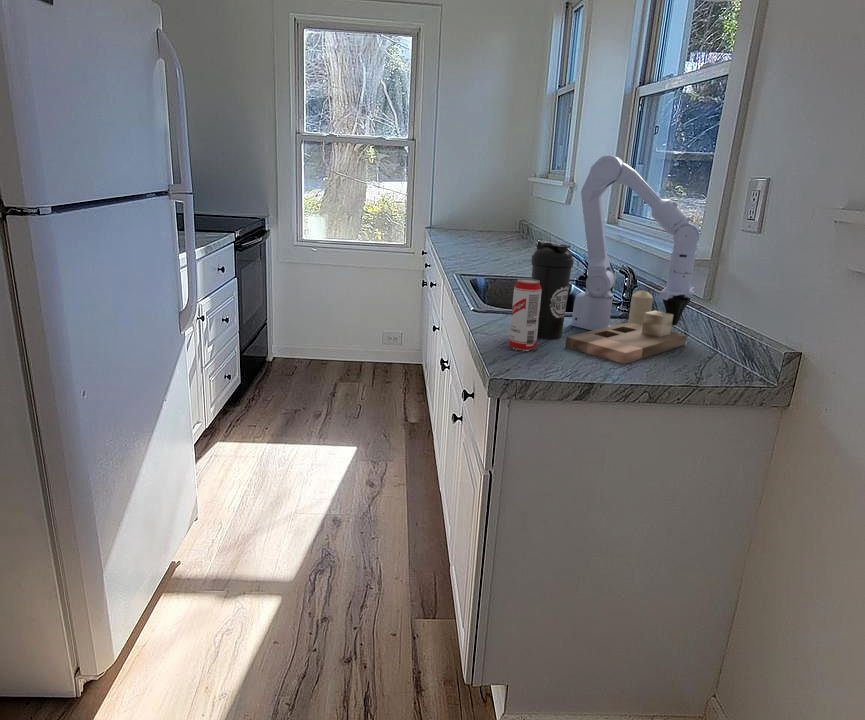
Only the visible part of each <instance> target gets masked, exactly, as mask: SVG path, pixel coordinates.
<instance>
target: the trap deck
mask: <svg viewBox="0 0 865 720" xmlns="http://www.w3.org/2000/svg"><path fill="white" fill-rule="evenodd" d="M642 327H643V325H640V324H636V323H632V322H628V321H627V322H624V323H619V324H614V325H610V327H606V328H602V329H597V330H593V331H592V330H589V331H586V332H581V333H577V334H572V335H569V336H566V339H565V348H567V349H570V350H574V351H578V352H581V353H586V354H587V355H593V356H596V357H599V358H602V359H606V360H609V361H614V362H617V363H620V364H624V365H626V364H629V363H630V364H631V363H633V362H636V361H638V360H641V359H646V358H648V357H651V356H654V355H657V354H661V353H664V352H667V351H670V350H673V349H676V348H679V347H683V346H685V345H686V339H687V335H686V334H682V333H678V332H674V331H671V333H670V334H669V335H665V336H662V337H659V336H655V335H650V334H646V333H642Z"/></svg>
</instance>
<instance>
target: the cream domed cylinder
mask: <svg viewBox="0 0 865 720" xmlns="http://www.w3.org/2000/svg"><path fill="white" fill-rule="evenodd" d="M630 299H631V300H630V307H629V314H628V315H629V316H628V320H627V322H632V323H636V324H640V325H643V321H644V314H645V313H646V312H650V311H652V307H653V303H654V302H653V300H654V297H653V295H652V294H651V293H650V292H648V291H647V290H645V289H644V290H636V291H635V292H634V293H633V294H632V295H631V298H630Z"/></svg>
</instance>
